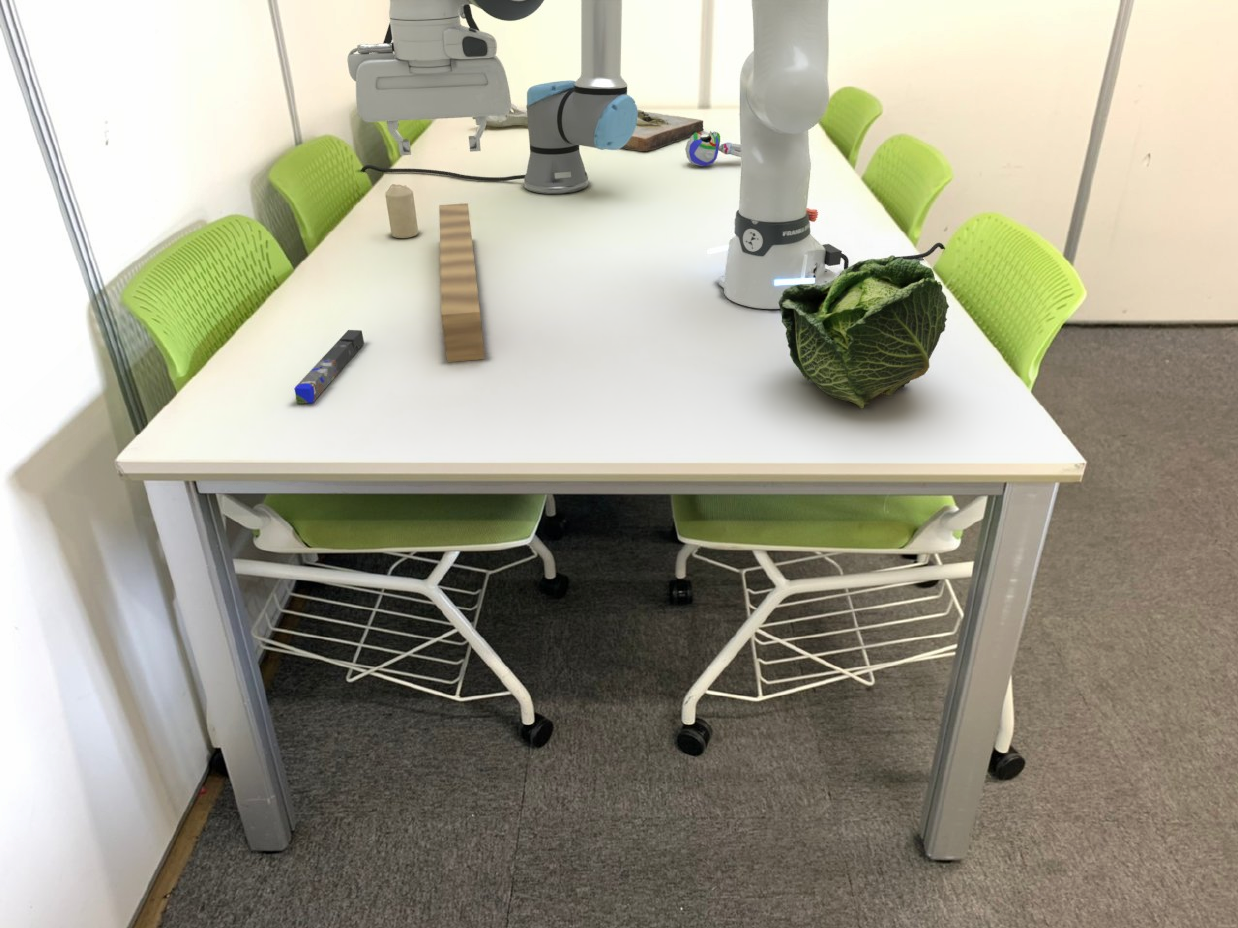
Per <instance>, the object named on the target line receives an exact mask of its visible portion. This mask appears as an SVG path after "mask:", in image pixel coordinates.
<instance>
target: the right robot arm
mask: <svg viewBox="0 0 1238 928" xmlns="http://www.w3.org/2000/svg"><path fill="white" fill-rule="evenodd" d="M544 1H545V0H389V11H388V17H389V23H390V25H391V32H392V42H391V43H383V42H382V43H380V42H379V43H374V44H368V43H360V44H357V47H355V48H353V49H351V50H350V51H349V53H348V55H347V66H348V73H349V75H350V77H351V79H352V80H353V81H354V82H355V101H356V102H355V103H356V110H357V116H358V117H359V118H360V119H361V120H362V121H363V122H365V123H377V122H378V123H379V122H386V128H387V131H388V132H389V134H390V135H391V136H392V138H393V139H394V140H395V142H396V143H397V145H398V150H399V151H398V153H399V156H410V155H412V149H411V141H410V138H403V136H402V135H401V134H400V132H399V131H398V129H399V125H400V123H399V121H419V120H439V119H440V120H441V119H442V120H443V119H461V118H472V117H475V119H474V120H475V125H476V126H477V128H476V131H475V133H474V135H468V147H469V152H481V149H482V148H481V138H482V136H483V133H484V132H485V130H486V127H487V124H486V116H504V115H507V114H508V113H509V111H510V110H511V111H512V109H511V103H512V98H511V92H510V86H509V81H508V77H507V74H506V70H505V67H504V65H503V63H502V60H501V59H500V58H499V56H498V55H496V54H497V53H498V42H497V40H496V38H495V37H494V36H493V35H492V34H490V33H489V32H485V31H482V30H480V31H478V30H475V29H473V28H470V27H469V26H464V25H462V23H461V16H460V12H459V9H460V7H461V6H462V5H466V4H469V5H472V6H474V7H477V8H478V9H479V10H480V9H481V10H482V11H483V12H484V13H485V14H487V15H488V16H490V17H493V18H494V19H497V20H500V21H505V22H515V21H519V20H523V19H525V18H527V17H530V16H531V15H532V14H534V13H536V11H537V10H538V9H539V8H540V7H541V6H542V4H543V3H544ZM829 1H830V0H751V11H752V29H753V30H752V33H753V50H752V52H751V53H749V55H748V56H747V57H746V59H745V60H744V62H743V64H742V67H741V70H740V74H739V140H740V141H739V142H740V145H741V157H740V176H739V178H740V179H739V197H738V198H739V199H738V209H737V210H736V211H735V218H734V222H733V223H734V234H735V236H733V237H732V238H731V239H730V240H729V242H728V245H727V244H726V245H723V246H719V247H713V248H709V249H707V254H708V255H709V254H716V253H719V252H724V251H727V252H726V253H727V255H726V262H725V269H724V275H721V276H719V278H718V285H719V286H720V287H721V288H722V289H723V294H724V296H725V297H726V298H727V299H728V300H730V301H731V302H733V303H735V304H738V305H741V306H745V307H749V308H754V309H763V310H780V306H779V300H780V298H781V297H782V296H783V295H782V293H783V291H784V290H786V289H788V288H790V287H791V286H795V285H798V284H806V285H807V284H813V285H823V284H826V283H828V282H831V281H833V280H834V279H835V278H836V277H838V274H837V273H836V272H834V271H833V270H831V269H828V268H826V266H828V267H831V266H840V265H841V261H842V260H843V270H845V269H847V268H848V267H849V264H850V261H849V258H848V256H847V255H846V254H845V253H842V252H843V251H842V250H840V249H839V248H837V247H835V246H834V245H832V244H830V243H823V244H821V242H819V240H817V239H816V238H815V237H814V236H813V235H812V234H811V223H815V222H816V221H817V219H818V215H819V211H818V210H817V209H815V208H814V209H813V208H809V207H808V200H809V199H808V198H809V189H810V180H811V169H812V160H811V155H810V142H809V139H810V138H809V130H811V129H813V128H814V127H815V126H816V125H817V124H819V122H820V121H821V120H822V119H823V117H824V116H825V114H826V111H827V109H828V106H829V103H830V86H829V58H830V57H829V56H830V55H829V53H830V51H829V50H830V49H829V46H830V42H829V37H830V36H829ZM394 55H395V57H394ZM938 248H940V250H945V249H946V247H945V246H944V244H943V243H941V242H936V243H935V244H933V246H932V247H930V248H929V250H927V251H926V252H923V253H920V254H914V255H912V254H911V255H902V256H895V258H894V260H896V259H898V258H901V257H902V258H903V259H908V260H920V259H923V258H926V257H929V256H930V255H932V254H933V253H934V252H935V251H936V250H937V249H938ZM886 258H887V257H884V258H882V259H886Z"/></svg>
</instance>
